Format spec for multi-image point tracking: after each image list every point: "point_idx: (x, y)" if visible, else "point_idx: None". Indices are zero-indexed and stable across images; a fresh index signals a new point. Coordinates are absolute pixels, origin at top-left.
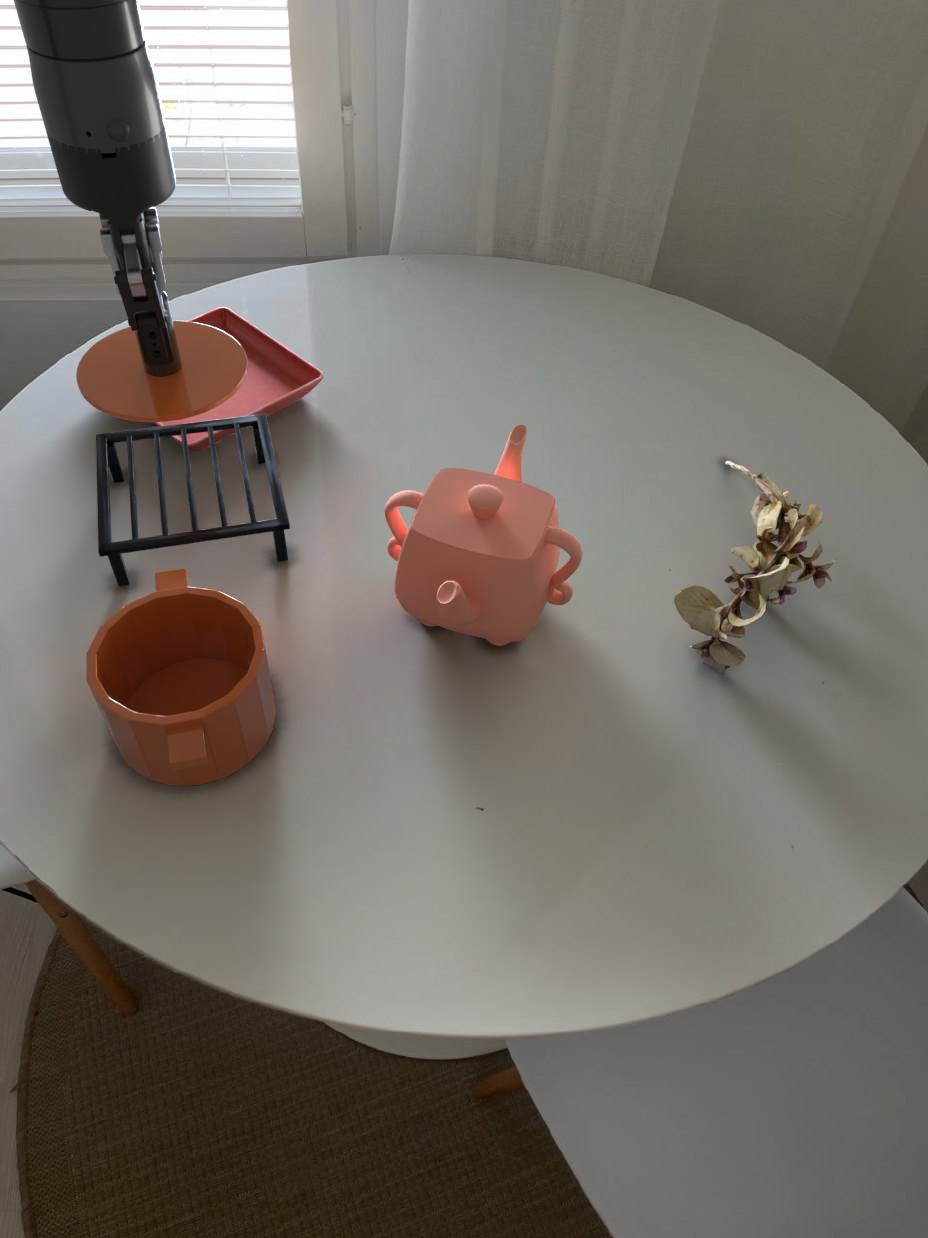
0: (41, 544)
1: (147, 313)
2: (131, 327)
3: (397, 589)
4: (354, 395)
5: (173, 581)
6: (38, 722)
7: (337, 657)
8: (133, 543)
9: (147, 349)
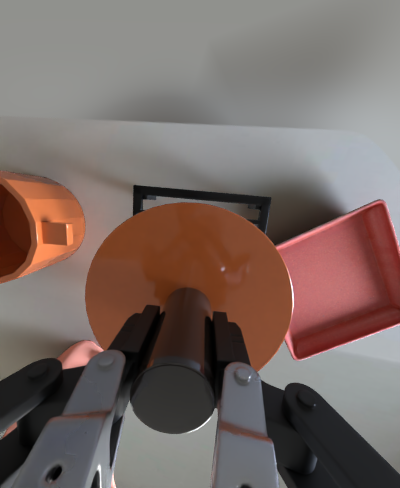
0: (202, 146)
1: (21, 429)
2: (19, 371)
3: (70, 349)
4: (284, 362)
5: (54, 235)
6: (54, 134)
7: (71, 297)
8: (136, 210)
9: (121, 329)
